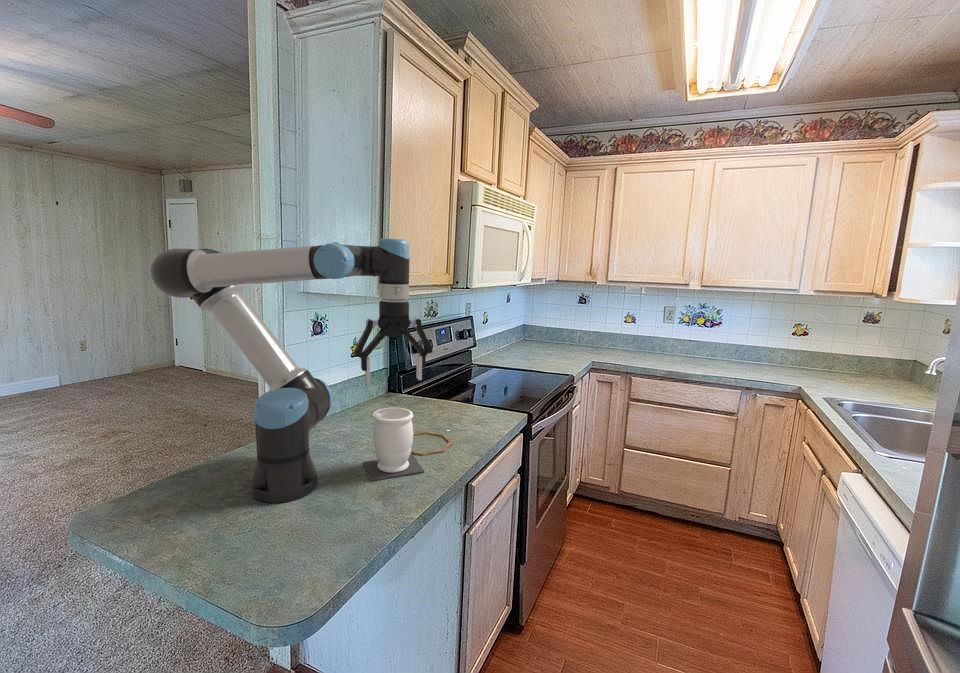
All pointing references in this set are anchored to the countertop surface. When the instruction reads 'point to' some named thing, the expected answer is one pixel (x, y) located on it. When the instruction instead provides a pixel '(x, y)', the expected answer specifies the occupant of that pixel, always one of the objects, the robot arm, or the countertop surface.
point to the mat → (377, 474)
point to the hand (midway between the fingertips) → (394, 380)
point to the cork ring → (433, 450)
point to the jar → (393, 438)
